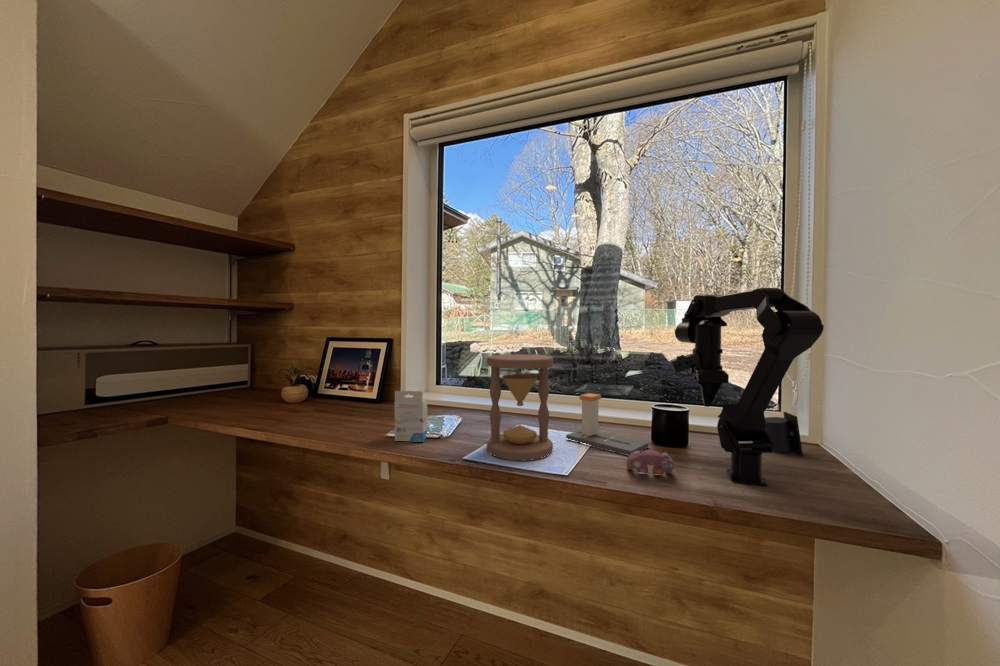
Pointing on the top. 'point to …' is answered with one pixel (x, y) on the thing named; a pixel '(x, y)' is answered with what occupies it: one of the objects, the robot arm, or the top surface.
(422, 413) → the ink box
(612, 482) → the top surface
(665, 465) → the video game controller
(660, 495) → the top surface
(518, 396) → the hourglass
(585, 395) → the fader knob
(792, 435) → the speaker
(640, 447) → the grey grooved tray
